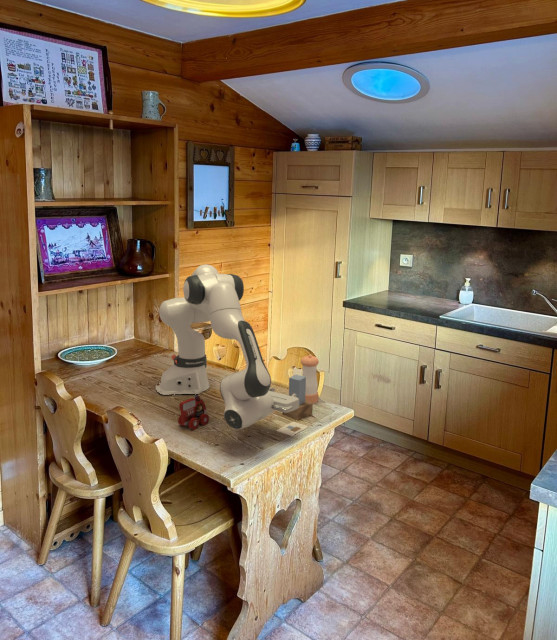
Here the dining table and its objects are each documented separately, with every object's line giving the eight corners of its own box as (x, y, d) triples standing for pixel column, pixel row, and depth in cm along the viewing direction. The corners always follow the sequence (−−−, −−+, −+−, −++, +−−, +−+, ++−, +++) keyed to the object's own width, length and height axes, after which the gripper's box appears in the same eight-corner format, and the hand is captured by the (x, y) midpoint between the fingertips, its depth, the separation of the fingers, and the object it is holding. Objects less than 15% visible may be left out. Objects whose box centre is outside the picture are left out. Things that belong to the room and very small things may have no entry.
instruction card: (291, 436, 212) (291, 435, 211) (276, 431, 216) (276, 430, 216) (308, 427, 219) (308, 426, 219) (293, 422, 223) (293, 421, 223)
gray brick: (298, 405, 226) (299, 380, 224) (288, 402, 229) (289, 377, 226) (305, 402, 230) (305, 377, 227) (295, 399, 232) (295, 374, 230)
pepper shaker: (320, 398, 246) (321, 353, 241) (314, 405, 239) (315, 358, 235) (303, 396, 249) (304, 351, 244) (297, 402, 242) (297, 356, 237)
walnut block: (296, 421, 225) (297, 408, 224) (282, 414, 231) (282, 402, 229) (312, 415, 230) (312, 403, 229) (297, 409, 236) (298, 397, 235)
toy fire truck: (212, 421, 224) (212, 395, 221) (188, 433, 214) (187, 405, 211) (199, 416, 228) (198, 390, 225) (174, 427, 218) (173, 400, 215)
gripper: (286, 402, 202) (308, 390, 213) (237, 390, 213) (261, 379, 224) (286, 420, 203) (308, 407, 214) (238, 406, 214) (261, 395, 226)
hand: (283, 392), depth 219 cm, fingers open, 8 cm apart
